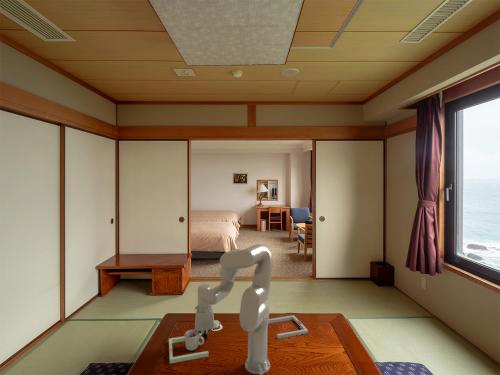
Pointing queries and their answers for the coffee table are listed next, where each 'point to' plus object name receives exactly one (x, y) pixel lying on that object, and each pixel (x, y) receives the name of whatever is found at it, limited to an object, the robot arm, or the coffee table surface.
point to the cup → (192, 339)
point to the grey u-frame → (293, 333)
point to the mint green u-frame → (184, 357)
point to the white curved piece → (217, 325)
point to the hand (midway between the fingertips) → (204, 340)
